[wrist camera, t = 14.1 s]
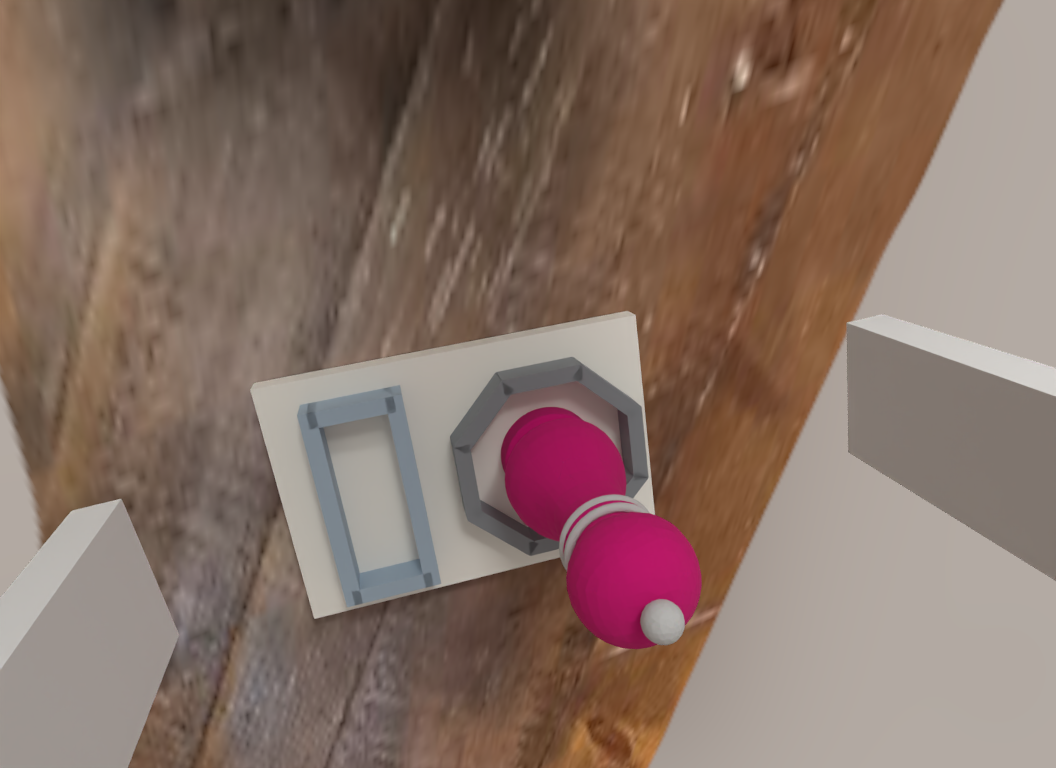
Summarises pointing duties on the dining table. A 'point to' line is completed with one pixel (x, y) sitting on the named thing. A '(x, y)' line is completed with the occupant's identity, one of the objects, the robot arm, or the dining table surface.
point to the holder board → (437, 455)
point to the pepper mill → (600, 530)
